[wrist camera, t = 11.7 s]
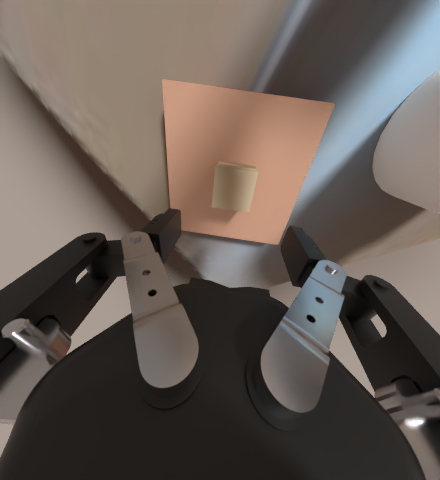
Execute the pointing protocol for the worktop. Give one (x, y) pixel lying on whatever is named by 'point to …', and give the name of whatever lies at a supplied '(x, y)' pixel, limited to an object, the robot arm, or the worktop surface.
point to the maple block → (234, 186)
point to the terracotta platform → (239, 154)
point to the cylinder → (412, 149)
